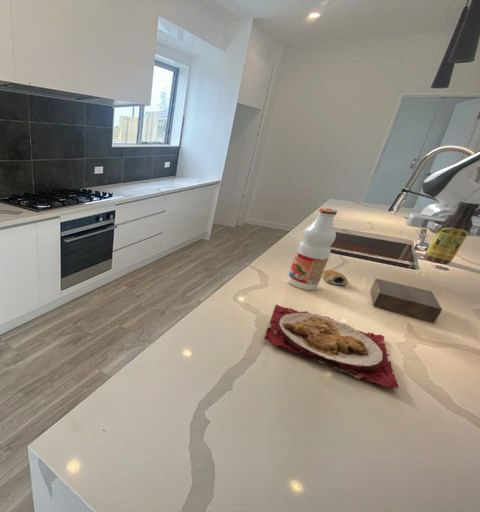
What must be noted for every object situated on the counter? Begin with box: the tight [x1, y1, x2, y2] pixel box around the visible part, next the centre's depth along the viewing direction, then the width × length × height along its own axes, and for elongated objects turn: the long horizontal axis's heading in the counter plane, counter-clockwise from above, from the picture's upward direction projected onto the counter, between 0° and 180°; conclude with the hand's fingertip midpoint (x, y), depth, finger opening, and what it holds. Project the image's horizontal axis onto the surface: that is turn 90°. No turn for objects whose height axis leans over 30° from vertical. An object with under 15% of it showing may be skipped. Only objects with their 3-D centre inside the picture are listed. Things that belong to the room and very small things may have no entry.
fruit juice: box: [287, 207, 338, 291], centre depth 103 cm, size 9×9×28 cm
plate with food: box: [263, 304, 400, 389], centre depth 78 cm, size 24×26×3 cm
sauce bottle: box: [423, 201, 480, 265], centre depth 94 cm, size 7×6×20 cm
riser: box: [369, 277, 443, 324], centre depth 97 cm, size 14×14×5 cm
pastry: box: [322, 269, 349, 286], centre depth 113 cm, size 9×7×4 cm
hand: (455, 230), depth 93 cm, fingers closed on sauce bottle, 6 cm apart
